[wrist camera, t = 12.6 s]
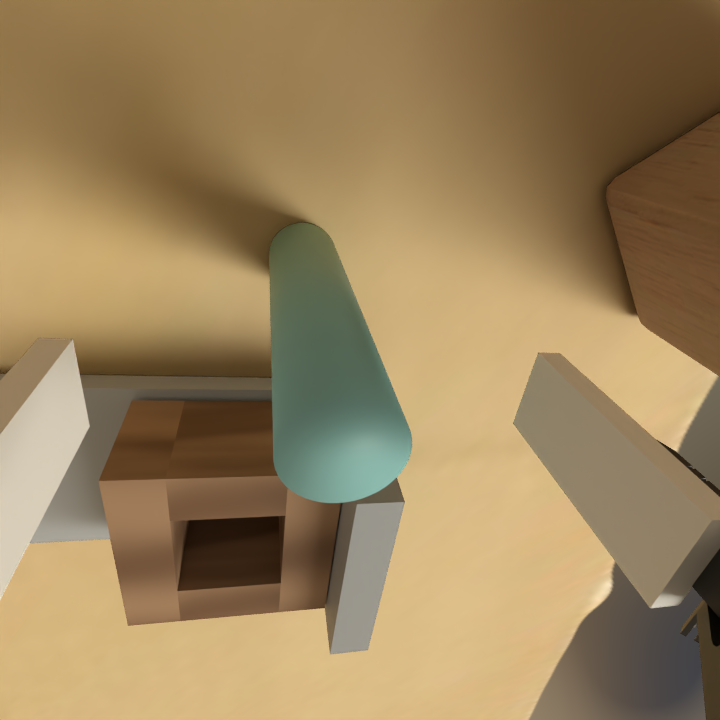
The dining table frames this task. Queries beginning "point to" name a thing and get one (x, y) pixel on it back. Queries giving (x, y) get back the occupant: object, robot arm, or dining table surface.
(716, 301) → the block
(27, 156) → the dining table surface
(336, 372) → the teal dowel
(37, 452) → the robot arm
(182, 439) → the walnut block
